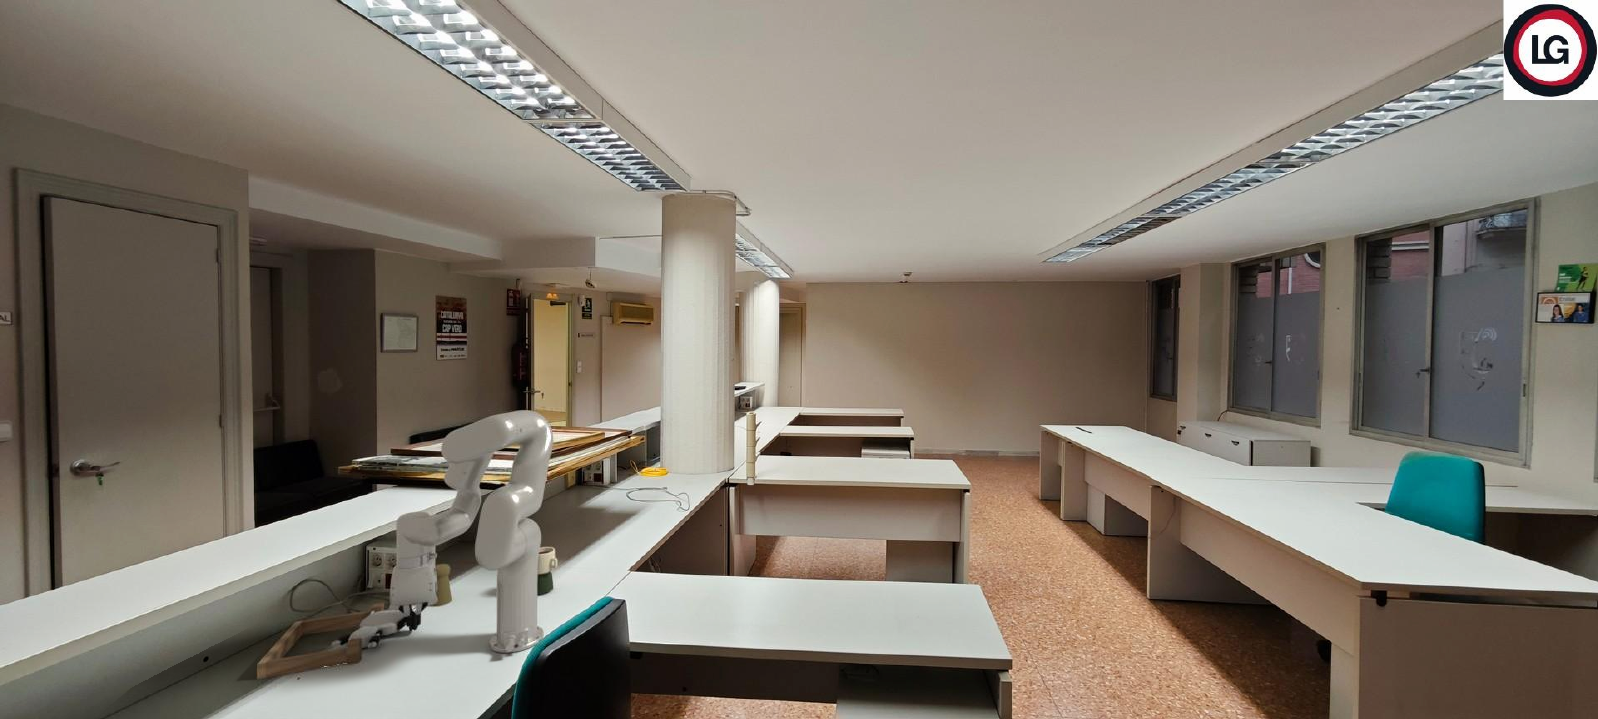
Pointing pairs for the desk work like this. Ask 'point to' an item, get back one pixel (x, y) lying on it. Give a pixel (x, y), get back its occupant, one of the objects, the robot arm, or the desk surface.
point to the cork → (443, 585)
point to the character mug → (545, 569)
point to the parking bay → (351, 654)
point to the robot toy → (375, 628)
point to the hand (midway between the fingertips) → (413, 628)
